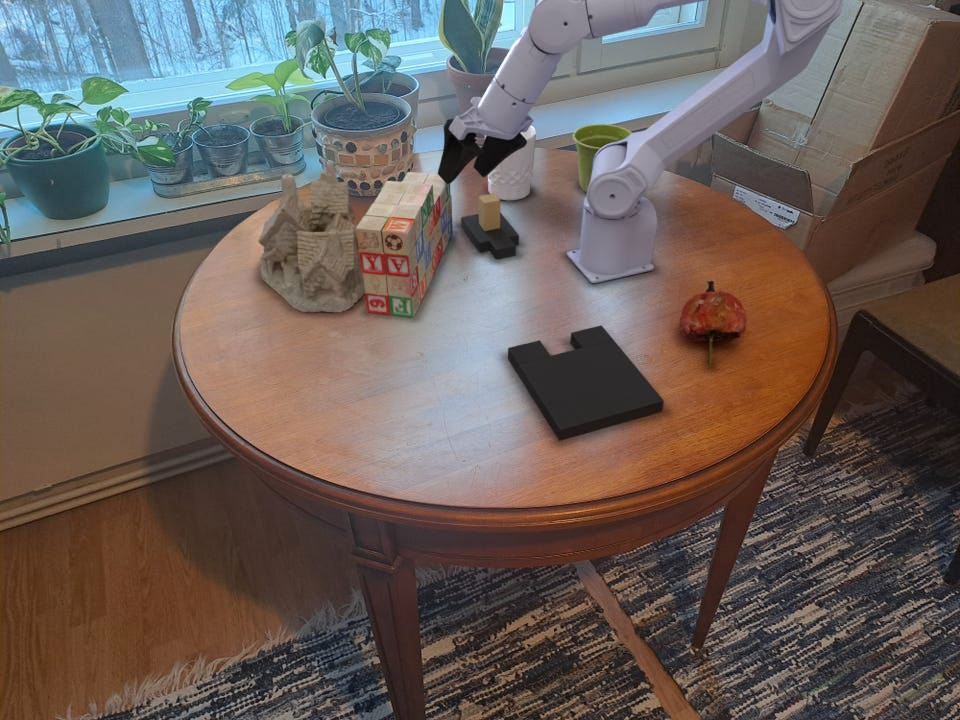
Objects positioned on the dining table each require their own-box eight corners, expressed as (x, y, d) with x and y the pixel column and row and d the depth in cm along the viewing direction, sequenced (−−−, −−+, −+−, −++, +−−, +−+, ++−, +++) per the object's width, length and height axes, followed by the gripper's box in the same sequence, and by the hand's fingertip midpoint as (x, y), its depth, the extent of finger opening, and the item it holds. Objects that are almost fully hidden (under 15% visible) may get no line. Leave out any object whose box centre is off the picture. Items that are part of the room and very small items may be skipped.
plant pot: (612, 206, 110) (619, 153, 104) (559, 191, 114) (562, 139, 108) (636, 183, 116) (644, 131, 110) (585, 169, 120) (589, 119, 114)
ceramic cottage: (278, 241, 102) (258, 145, 92) (389, 255, 100) (380, 158, 90) (233, 309, 91) (204, 208, 81) (356, 326, 89) (342, 225, 79)
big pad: (661, 411, 75) (664, 400, 74) (559, 441, 72) (560, 429, 71) (600, 335, 85) (601, 325, 84) (507, 358, 82) (507, 347, 81)
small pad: (525, 253, 100) (527, 215, 96) (485, 261, 98) (485, 223, 94) (498, 219, 107) (498, 182, 103) (461, 226, 106) (460, 189, 102)
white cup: (488, 179, 118) (488, 119, 111) (535, 181, 117) (538, 122, 110) (481, 201, 112) (481, 140, 105) (531, 204, 111) (534, 142, 104)
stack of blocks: (412, 229, 105) (406, 150, 97) (453, 233, 104) (450, 153, 96) (366, 313, 89) (354, 226, 81) (414, 318, 88) (407, 231, 80)
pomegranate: (740, 374, 83) (748, 294, 85) (744, 359, 76) (753, 272, 78) (675, 368, 85) (684, 289, 87) (673, 352, 78) (684, 268, 80)
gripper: (526, 66, 91) (475, 149, 99) (456, 66, 80) (406, 159, 89) (563, 102, 89) (508, 184, 98) (497, 107, 78) (441, 198, 87)
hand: (462, 175), depth 93 cm, fingers open, 7 cm apart
